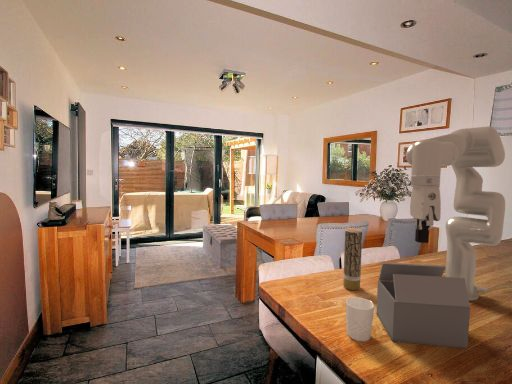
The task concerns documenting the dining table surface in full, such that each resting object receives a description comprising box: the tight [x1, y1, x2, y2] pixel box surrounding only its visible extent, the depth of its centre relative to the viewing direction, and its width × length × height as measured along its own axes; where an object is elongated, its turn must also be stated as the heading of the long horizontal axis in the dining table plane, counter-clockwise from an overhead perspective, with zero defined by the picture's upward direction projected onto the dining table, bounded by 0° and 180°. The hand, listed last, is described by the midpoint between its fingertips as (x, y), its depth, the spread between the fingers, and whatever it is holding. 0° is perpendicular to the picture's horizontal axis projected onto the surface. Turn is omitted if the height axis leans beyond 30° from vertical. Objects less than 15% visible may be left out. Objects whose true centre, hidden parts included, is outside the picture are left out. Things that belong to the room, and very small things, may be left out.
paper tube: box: [342, 227, 363, 291], centre depth 118 cm, size 7×7×25 cm
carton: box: [376, 279, 471, 349], centre depth 87 cm, size 20×16×12 cm
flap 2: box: [393, 274, 471, 308], centre depth 80 cm, size 8×19×1 cm
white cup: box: [345, 296, 375, 342], centre depth 84 cm, size 8×8×10 cm
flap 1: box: [378, 262, 446, 281], centre depth 93 cm, size 8×19×1 cm
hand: (421, 241), depth 86 cm, fingers closed
